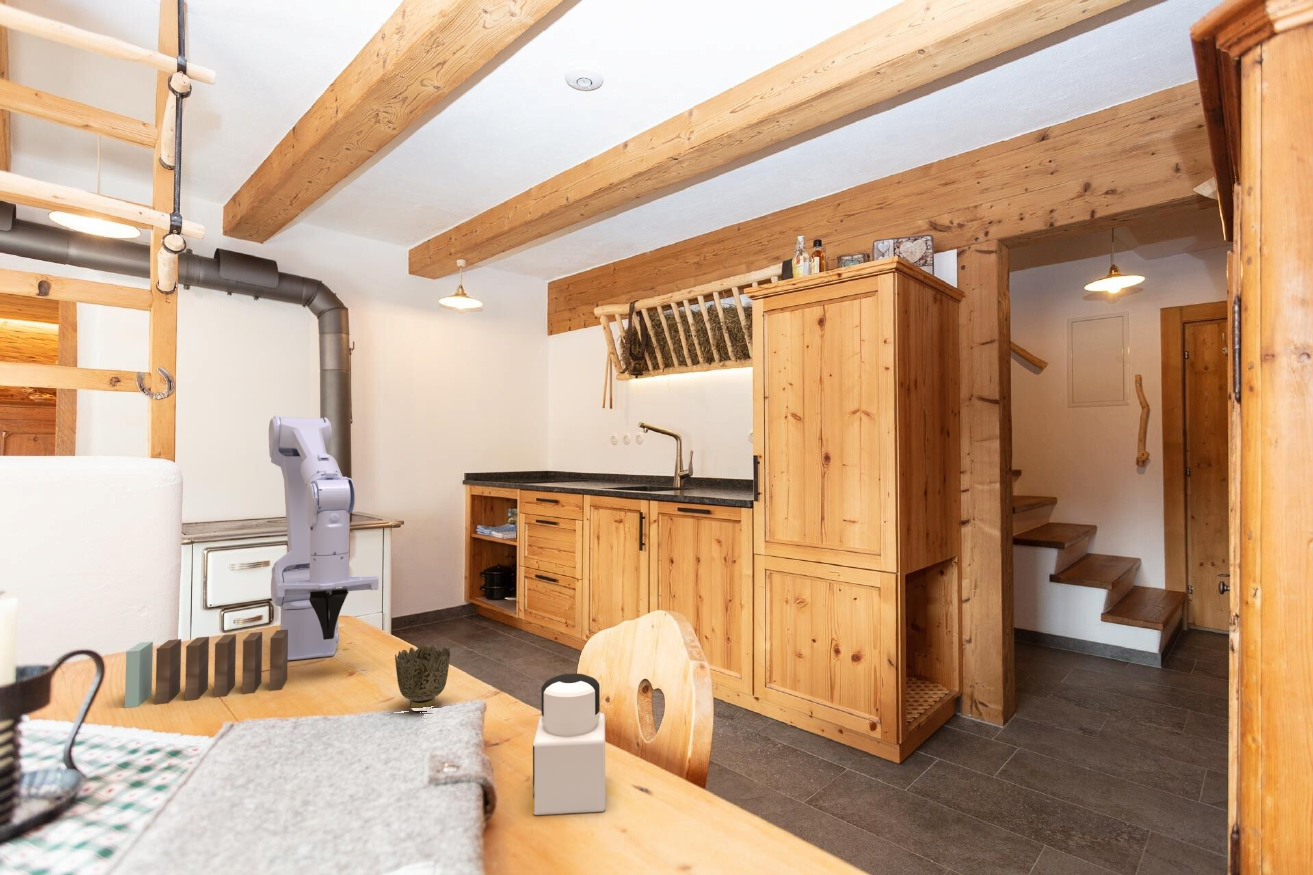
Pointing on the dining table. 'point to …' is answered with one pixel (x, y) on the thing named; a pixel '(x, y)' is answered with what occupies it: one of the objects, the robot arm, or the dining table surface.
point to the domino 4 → (224, 665)
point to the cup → (422, 674)
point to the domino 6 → (278, 659)
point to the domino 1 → (138, 674)
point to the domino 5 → (252, 663)
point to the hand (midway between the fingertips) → (328, 637)
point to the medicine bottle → (569, 747)
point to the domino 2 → (168, 671)
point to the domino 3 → (196, 668)
